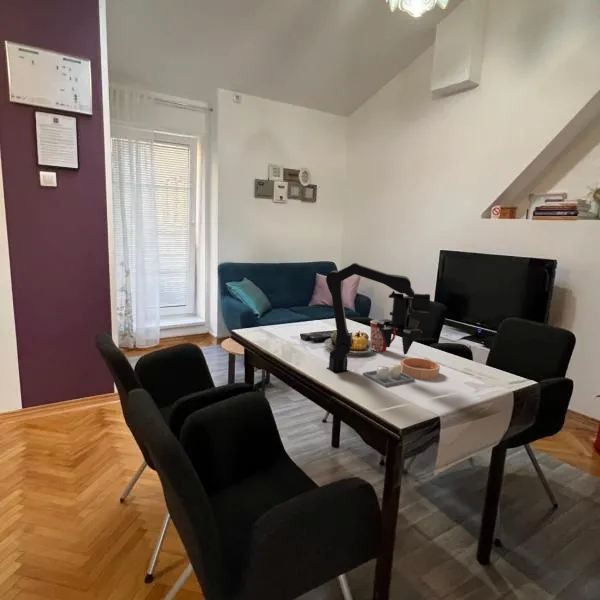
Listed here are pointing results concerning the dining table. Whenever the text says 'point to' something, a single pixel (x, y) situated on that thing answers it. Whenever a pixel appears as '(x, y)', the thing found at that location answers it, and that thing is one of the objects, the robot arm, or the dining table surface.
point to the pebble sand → (394, 371)
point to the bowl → (420, 368)
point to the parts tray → (389, 379)
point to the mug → (378, 338)
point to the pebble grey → (382, 373)
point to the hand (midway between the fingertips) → (396, 350)
